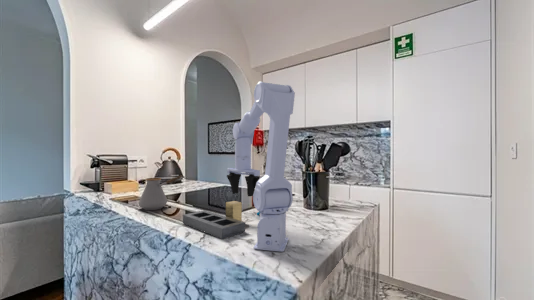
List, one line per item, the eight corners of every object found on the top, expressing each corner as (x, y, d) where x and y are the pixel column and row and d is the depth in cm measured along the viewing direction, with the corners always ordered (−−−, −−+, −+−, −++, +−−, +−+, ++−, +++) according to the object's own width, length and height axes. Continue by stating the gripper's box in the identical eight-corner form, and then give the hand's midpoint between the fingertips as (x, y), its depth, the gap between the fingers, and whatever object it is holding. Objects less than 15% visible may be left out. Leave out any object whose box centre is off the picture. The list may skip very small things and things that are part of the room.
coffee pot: (132, 209, 106) (132, 174, 106) (152, 204, 117) (152, 172, 117) (174, 214, 99) (174, 176, 99) (191, 208, 110) (192, 173, 110)
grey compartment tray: (245, 231, 79) (245, 222, 79) (221, 239, 72) (222, 228, 72) (205, 218, 94) (205, 210, 94) (182, 223, 87) (182, 214, 87)
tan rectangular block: (241, 222, 90) (241, 202, 90) (232, 224, 87) (233, 204, 87) (234, 219, 93) (234, 200, 93) (225, 222, 90) (225, 202, 90)
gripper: (265, 157, 89) (265, 195, 90) (237, 156, 99) (236, 191, 99) (252, 157, 84) (251, 198, 84) (223, 156, 93) (222, 193, 93)
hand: (242, 194), depth 91 cm, fingers open, 7 cm apart
